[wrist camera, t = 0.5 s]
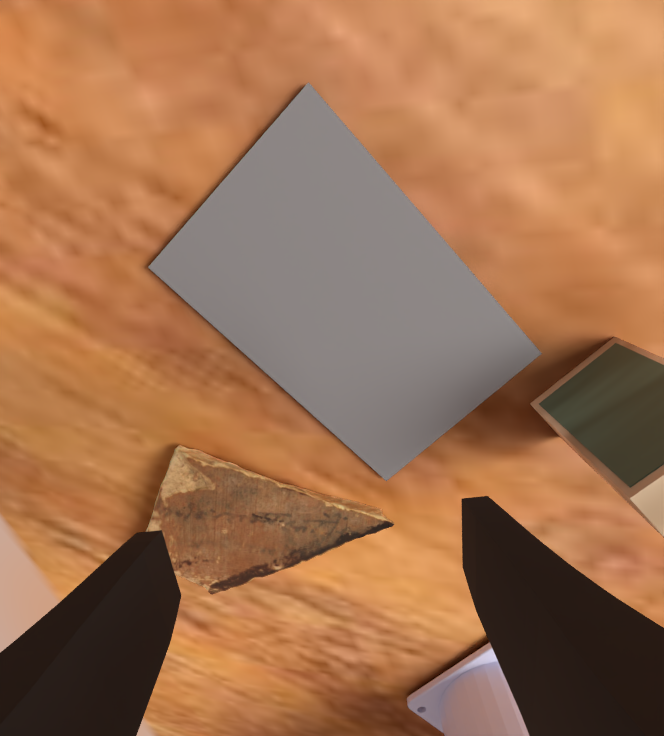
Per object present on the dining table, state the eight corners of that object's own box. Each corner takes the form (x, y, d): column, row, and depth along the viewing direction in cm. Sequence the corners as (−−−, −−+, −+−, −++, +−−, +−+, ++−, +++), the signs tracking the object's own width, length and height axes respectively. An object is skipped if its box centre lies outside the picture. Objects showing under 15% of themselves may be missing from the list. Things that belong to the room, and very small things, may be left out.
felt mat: (538, 351, 19) (541, 353, 19) (385, 477, 21) (386, 481, 21) (308, 84, 16) (308, 82, 15) (150, 266, 18) (147, 267, 18)
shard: (390, 504, 23) (396, 528, 21) (331, 609, 25) (331, 639, 23) (183, 430, 21) (171, 450, 19) (140, 550, 23) (125, 578, 22)
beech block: (643, 373, 20) (802, 455, 13) (560, 436, 21) (669, 542, 14) (613, 335, 19) (765, 402, 13) (529, 402, 20) (628, 497, 14)
